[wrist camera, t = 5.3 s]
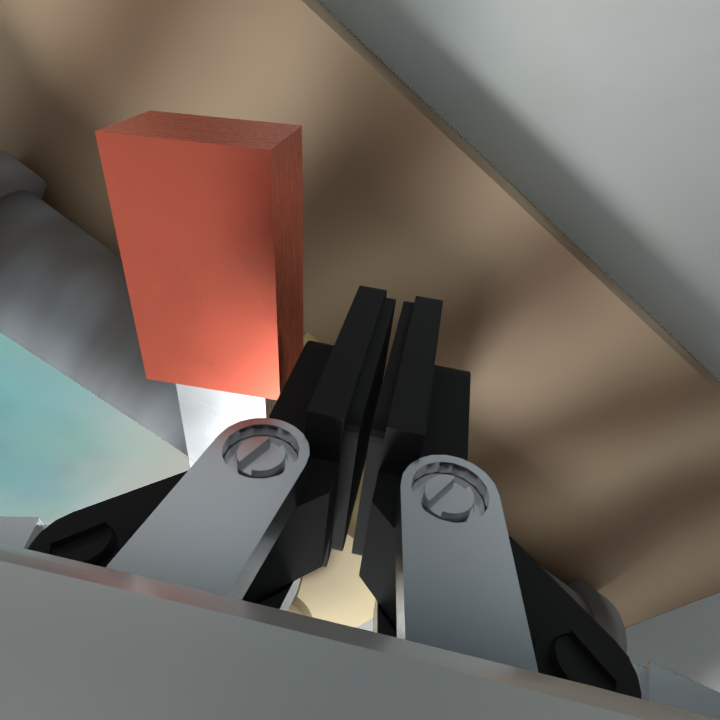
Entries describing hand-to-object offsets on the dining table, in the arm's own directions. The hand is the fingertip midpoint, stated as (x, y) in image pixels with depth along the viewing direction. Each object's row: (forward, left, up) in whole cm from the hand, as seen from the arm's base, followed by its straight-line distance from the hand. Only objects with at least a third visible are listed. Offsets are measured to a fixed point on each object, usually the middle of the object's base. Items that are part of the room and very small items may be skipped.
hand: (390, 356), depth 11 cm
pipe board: (-3, +7, -9) cm, 12 cm away
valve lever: (+1, +5, 0) cm, 5 cm away
